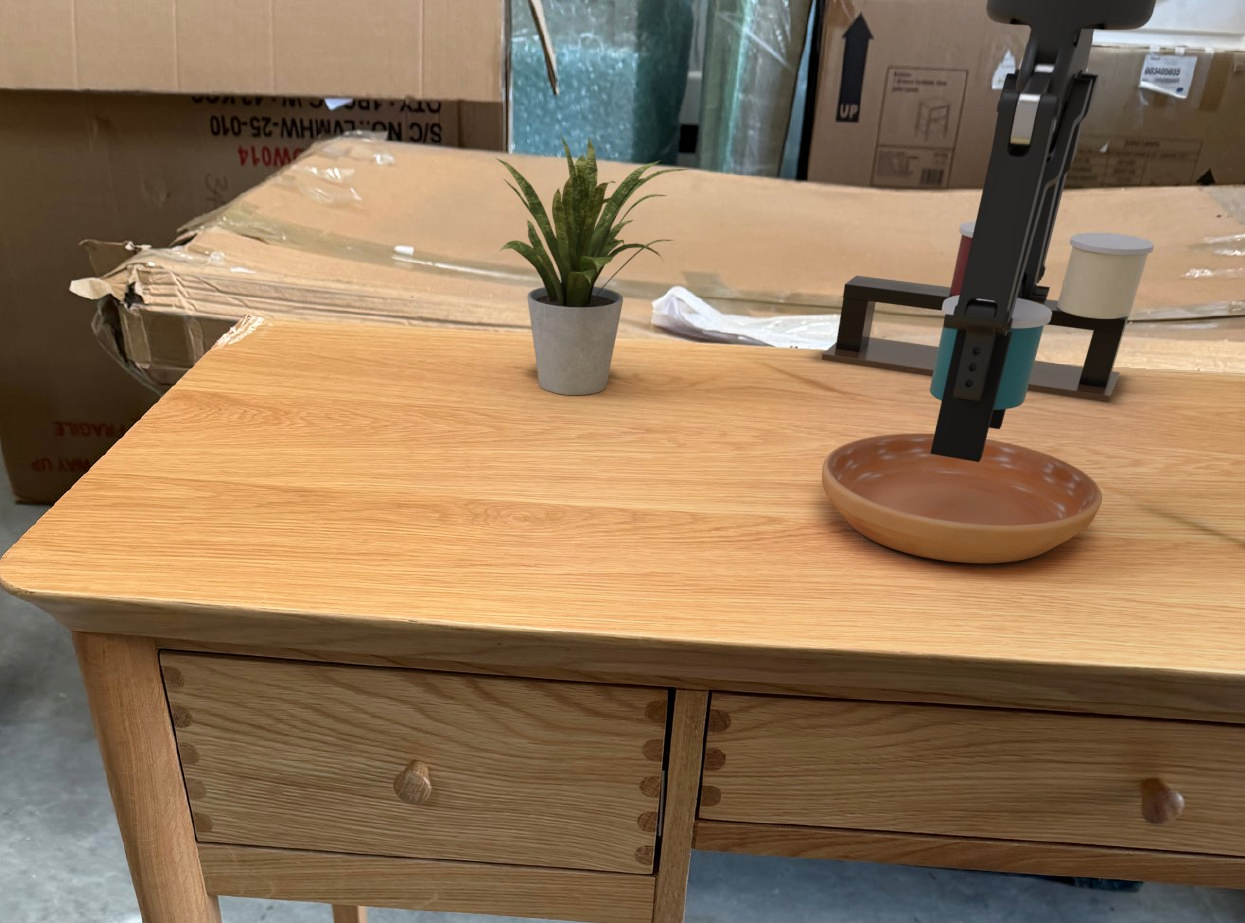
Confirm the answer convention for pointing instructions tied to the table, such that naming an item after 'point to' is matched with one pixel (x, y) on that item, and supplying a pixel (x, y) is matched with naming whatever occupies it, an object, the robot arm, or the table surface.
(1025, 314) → the teal pod
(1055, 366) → the stand
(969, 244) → the burgundy pod
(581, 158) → the house plant
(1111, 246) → the cup
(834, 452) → the saucer
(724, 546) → the table surface
